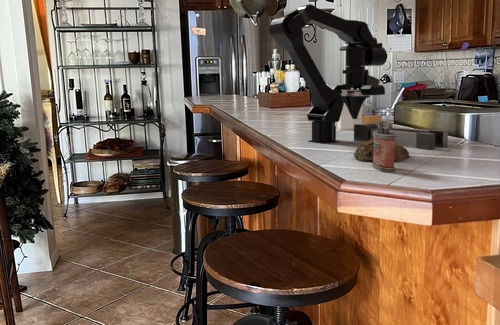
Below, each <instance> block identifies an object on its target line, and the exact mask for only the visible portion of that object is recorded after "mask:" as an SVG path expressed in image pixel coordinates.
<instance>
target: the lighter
mask: <svg viewBox="0 0 500 325" xmlns="http://www.w3.org/2000/svg"><path fill="white" fill-rule="evenodd" d="M377 126H378V131H373V136H374V151H373V161H371V162H372V163H371V164H372V168H373V169H374V170H377V171H378V172H382V173H389V174H391V173H395V172H396V167H395V162H394V150H395V139H396V134H394V133H391V132H389V129H392V128H393V127H394V125H393V123H392V122H389V120H381V121H379V122H377Z"/></svg>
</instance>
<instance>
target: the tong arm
mask: <svg viewBox="0 0 500 325" xmlns="http://www.w3.org/2000/svg"><path fill="white" fill-rule="evenodd" d="M389 130H395V131H405V132H415V133H421V132H424V133H434V134H435V148H442V149H443V148H447V147H448V140H449V139H448V138H449V137H448V136H449V130H445V129H444V130H443V129H421V128H409V127H408V128H406V127H395V126H393V128H392V129H389Z"/></svg>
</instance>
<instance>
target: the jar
mask: <svg viewBox="0 0 500 325" xmlns="http://www.w3.org/2000/svg"><path fill="white" fill-rule="evenodd" d="M340 95H341V96H342V94H340ZM342 100H343V99H342ZM343 103H344V101H343ZM362 116H363V104H362V106H361V109H360V111H359V114H358V117H357V119H352V117H351V115H350V112H349V110H348V108H347V106H346V104H345V103H344V106H343V110H342V112H341V116H340V120H339V122H337V129H338V130H341V131H354V125H355V124H363V123H361V122H362Z"/></svg>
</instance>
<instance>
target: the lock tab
mask: <svg viewBox="0 0 500 325" xmlns="http://www.w3.org/2000/svg"><path fill="white" fill-rule="evenodd" d="M379 121H382V115H377V114H376V115H374V114H371V115H362V122H361V123H362V124H373V123H377V122H379Z"/></svg>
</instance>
